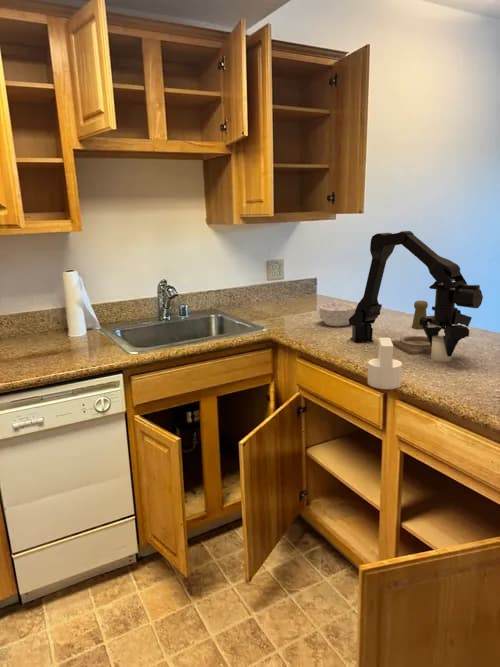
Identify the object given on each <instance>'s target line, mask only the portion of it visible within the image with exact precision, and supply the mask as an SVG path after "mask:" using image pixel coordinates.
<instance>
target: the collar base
mask: <svg viewBox="0 0 500 667" xmlns="http://www.w3.org/2000/svg"><path fill="white" fill-rule="evenodd" d="M391 342H392V344H393V347H396V348H397V349H399V350H400V351H403V352H404V353H406V354H408V355H419V354H421V355H422V354H431V351H432V347H431V345H430V342H429V340H428V338H427V336H426V335H425V336H423V335H406V336H403V337H400V338H399V339H398V340H391Z"/></svg>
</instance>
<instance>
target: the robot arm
mask: <svg viewBox="0 0 500 667" xmlns="http://www.w3.org/2000/svg"><path fill="white" fill-rule="evenodd" d="M400 245H402V246H403V247H404V248H405V249H406V250H407V251H409V252H410V253H411V254H412V255H413V256H415V258H416V259H418V261H420V262H422V263H423V264H424V265H425V266H426V267H427V269H428V273H429V274H430V275H431V276H432V278H433V279H434V280H435V281H434V282H433V284H431V285H430V286H429V289H432V290H435V298H434V299H435V300H434V306H431V311H434V313H433V314H434V315H427V316H422V317H421V319H420V325H422V328H423V329H422V330H423V331H424V333H425V336H426V337H427V338H428V340H429V342H430V345H431V347H432V337H433V336H437V335H439V333H440V332H441V331H442V330H443V333H444V335H443V339H444V343H445V348H446V353H447V356H451V355H453V354H454V350H455V349H456V346H457V345H458V343H459V341H461V340H462V339H466V338H468V337H470V329H469V328H468V327H469V326H470V324H471V321H472V319H473V318H472V317H471V316H469V315H466V314H463V313H461V311H462V310H460V309H458V307H462V308H471V309H479V308H480V306H481V305H482V302H483V299H484V296H483V293H482V290H481V286H480V284H468V282H467V281H466V279H465V277H464V275H462V273H461V268H460V266H459V264H458V263H455V262H454V261H452V260H450V259H448V258H445V257H443V256H440V255H438V254H437V253H436V252H435V251H434V250H433V249H432V248H430V247H429V246H427V245H426V244H425V243H424V242H423V241H422V240H420V239H419V238H418V237H417V235H415V234H414V233H413V231H411V230H404V231H403V230H402V231H399V232H396V233H392V232H381V233H376V234H374V235H372V237H371V239H370V244H369V246H370V247H369V251H370V254H371V263H370V265H369V271H368V274H367V279H366V282H365V283H366V284H365V288H364V292H363V296H362V298H361V299H360V300H359V302H358V303H357V305H356V310H355V313H354V314H353V315H352V316H351V317H350V318H349V324H348V325H349V326H351V336H350V337H349V340H352V341H353V342H355V343H357V344H359V343H372V342H374V340H373V330H374V328H373V327H372V326H373V325H372V324H375V323H376V322H375V321H376V319H377V318H379V316H381V311H382V310H381V309H382V307H383V304H381V303H379V301H378V297H379V293H380V289H381V285H382V282H383V276H384V272H385V269H386V264H387V261H388V259H389V258H390V256H391V255H392V254H393V252H394V250H395V248H396V246H400ZM455 305H456V306H458V307H455ZM451 357H452V356H451Z"/></svg>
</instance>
